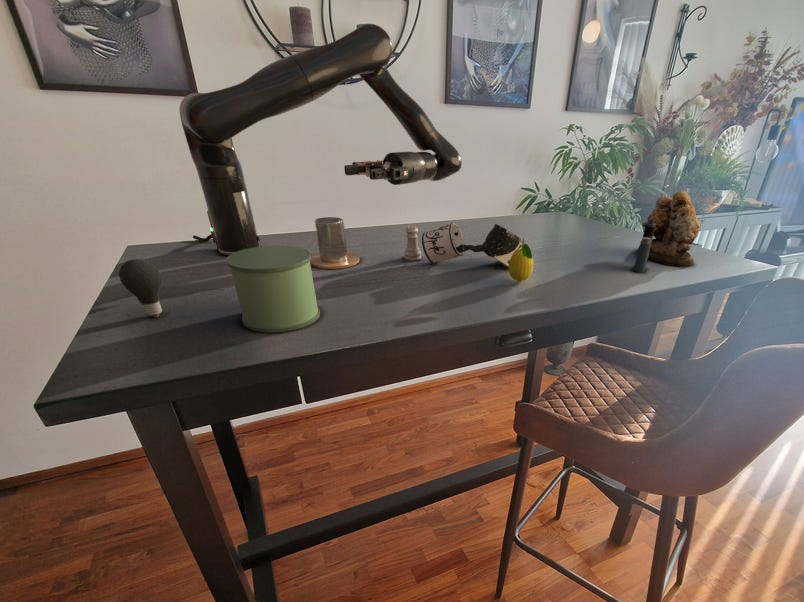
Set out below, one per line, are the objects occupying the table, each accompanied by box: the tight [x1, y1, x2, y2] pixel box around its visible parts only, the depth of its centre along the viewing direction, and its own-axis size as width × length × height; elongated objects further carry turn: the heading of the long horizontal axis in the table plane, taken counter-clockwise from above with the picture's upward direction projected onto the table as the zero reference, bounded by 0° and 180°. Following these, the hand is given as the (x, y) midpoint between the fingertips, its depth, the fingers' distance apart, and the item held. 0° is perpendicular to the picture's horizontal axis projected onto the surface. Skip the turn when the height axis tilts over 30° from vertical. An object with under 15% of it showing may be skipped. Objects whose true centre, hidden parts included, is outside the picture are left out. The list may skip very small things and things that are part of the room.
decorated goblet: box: [421, 222, 526, 268], centre depth 107 cm, size 25×10×10 cm, turn 92°
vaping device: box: [633, 219, 656, 274], centre depth 109 cm, size 3×5×12 cm, turn 155°
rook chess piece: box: [403, 224, 422, 262], centre depth 109 cm, size 4×4×8 cm
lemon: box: [508, 237, 534, 284], centre depth 97 cm, size 7×6×10 cm
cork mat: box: [310, 251, 361, 270], centre depth 107 cm, size 12×12×1 cm
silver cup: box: [314, 216, 348, 263], centre depth 105 cm, size 6×6×9 cm
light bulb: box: [118, 258, 163, 318], centre depth 75 cm, size 6×6×10 cm
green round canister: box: [225, 245, 321, 334], centre depth 77 cm, size 13×13×11 cm
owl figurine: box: [637, 190, 701, 267], centre depth 118 cm, size 18×12×17 cm, turn 27°
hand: (357, 172), depth 104 cm, fingers open, 8 cm apart
